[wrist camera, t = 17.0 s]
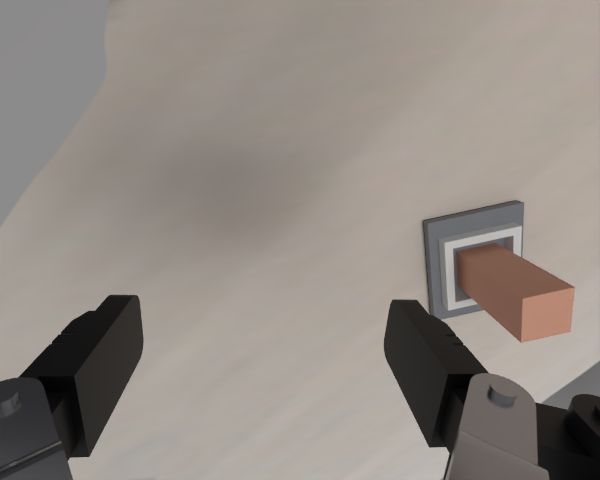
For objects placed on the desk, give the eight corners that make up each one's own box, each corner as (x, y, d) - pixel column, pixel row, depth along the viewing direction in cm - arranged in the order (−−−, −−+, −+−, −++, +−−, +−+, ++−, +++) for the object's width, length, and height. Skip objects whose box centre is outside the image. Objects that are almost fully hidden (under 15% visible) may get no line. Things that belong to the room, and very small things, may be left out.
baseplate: (423, 220, 43) (433, 227, 40) (517, 200, 43) (532, 205, 41) (430, 316, 48) (439, 327, 45) (514, 297, 48) (528, 307, 46)
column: (456, 251, 44) (522, 298, 32) (495, 242, 44) (574, 287, 32) (457, 286, 45) (521, 342, 34) (495, 277, 45) (570, 331, 34)
